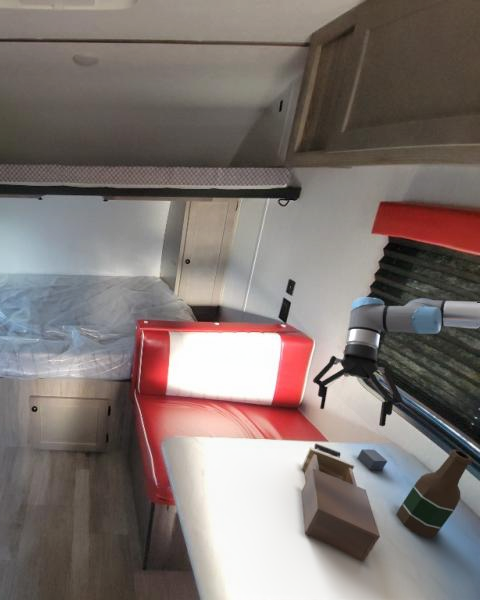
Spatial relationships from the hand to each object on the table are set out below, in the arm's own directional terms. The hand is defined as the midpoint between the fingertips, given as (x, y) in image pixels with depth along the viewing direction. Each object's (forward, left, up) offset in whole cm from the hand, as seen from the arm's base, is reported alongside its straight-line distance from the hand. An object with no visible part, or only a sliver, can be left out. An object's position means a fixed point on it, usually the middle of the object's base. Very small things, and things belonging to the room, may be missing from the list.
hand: (350, 416), depth 96 cm
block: (-11, -6, -18) cm, 22 cm away
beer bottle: (-17, +12, -18) cm, 27 cm away
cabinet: (+3, +25, -18) cm, 31 cm away
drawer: (+3, +12, -17) cm, 21 cm away
